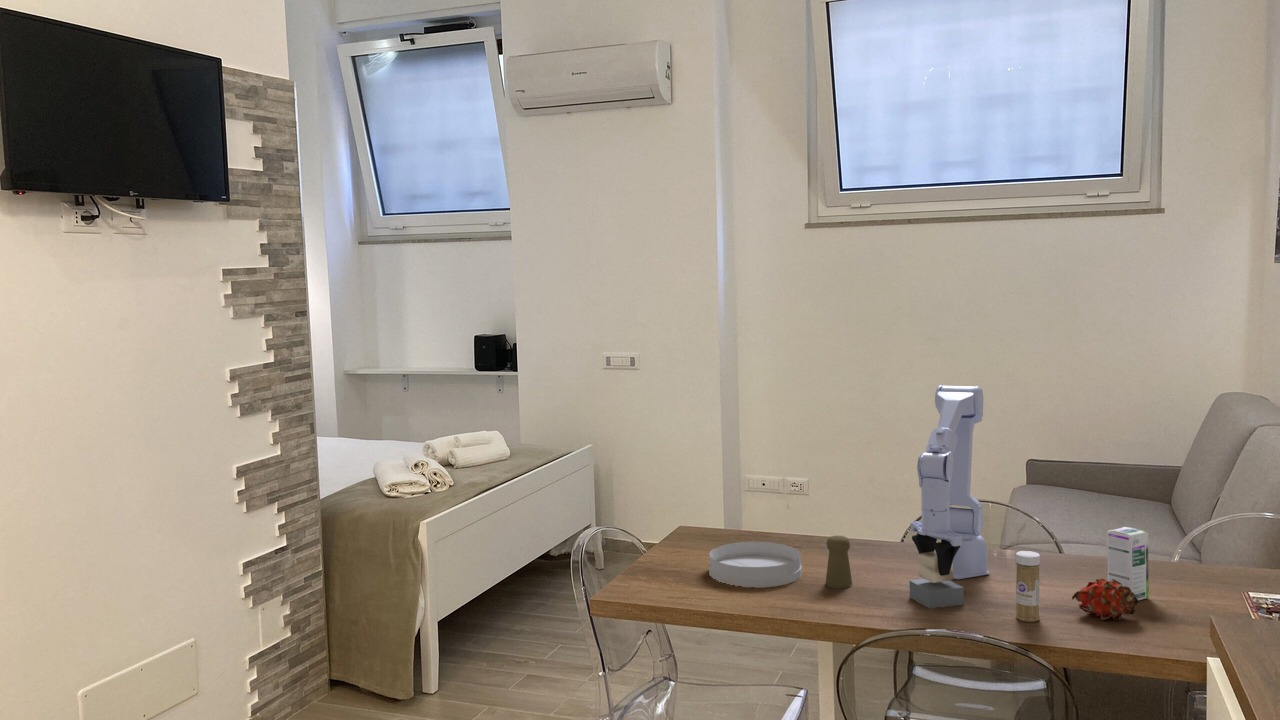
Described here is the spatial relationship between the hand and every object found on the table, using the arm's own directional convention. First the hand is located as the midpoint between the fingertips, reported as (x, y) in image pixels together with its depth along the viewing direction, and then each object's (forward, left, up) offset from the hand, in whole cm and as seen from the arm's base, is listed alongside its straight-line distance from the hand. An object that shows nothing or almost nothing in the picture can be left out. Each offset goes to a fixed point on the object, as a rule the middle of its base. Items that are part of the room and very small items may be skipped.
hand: (935, 571), depth 203 cm
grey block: (0, 0, -7) cm, 7 cm away
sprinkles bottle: (-9, +17, -7) cm, 20 cm away
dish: (+25, -35, -7) cm, 44 cm away
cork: (+12, -19, -7) cm, 23 cm away
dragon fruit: (-23, +23, -7) cm, 33 cm away
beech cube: (0, 0, -2) cm, 2 cm away
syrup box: (-37, +16, -7) cm, 41 cm away
